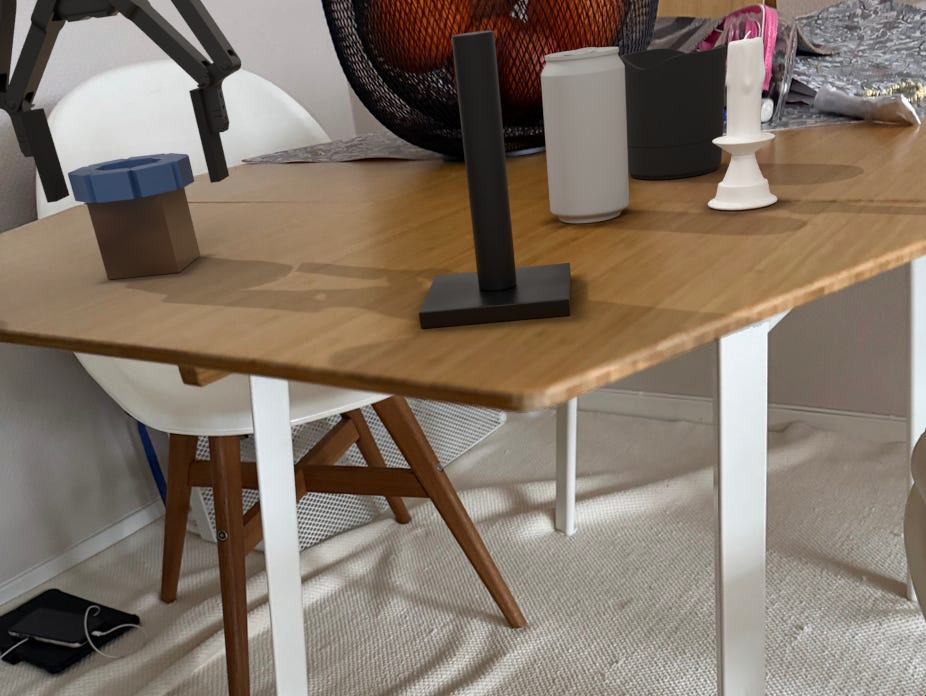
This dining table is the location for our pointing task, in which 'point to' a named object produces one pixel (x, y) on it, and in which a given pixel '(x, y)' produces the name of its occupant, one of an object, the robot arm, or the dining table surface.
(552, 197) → the beverage can
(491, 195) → the post stand
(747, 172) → the candle
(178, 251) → the brown matte cube
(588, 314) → the dining table surface
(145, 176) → the ring
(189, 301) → the dining table surface
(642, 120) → the pen holder
